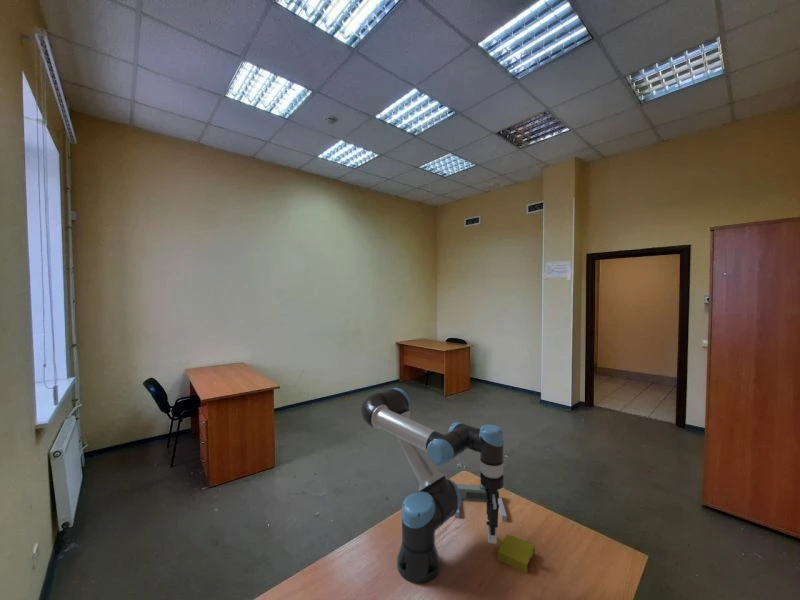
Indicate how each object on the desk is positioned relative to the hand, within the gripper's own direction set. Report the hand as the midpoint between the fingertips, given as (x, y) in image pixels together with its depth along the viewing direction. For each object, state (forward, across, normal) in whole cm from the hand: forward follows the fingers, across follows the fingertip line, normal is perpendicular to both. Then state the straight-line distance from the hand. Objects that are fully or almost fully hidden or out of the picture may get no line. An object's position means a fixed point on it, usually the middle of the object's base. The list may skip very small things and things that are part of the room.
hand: (492, 541), depth 112 cm
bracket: (+10, +15, -2) cm, 18 cm away
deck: (+13, +38, 0) cm, 40 cm away
